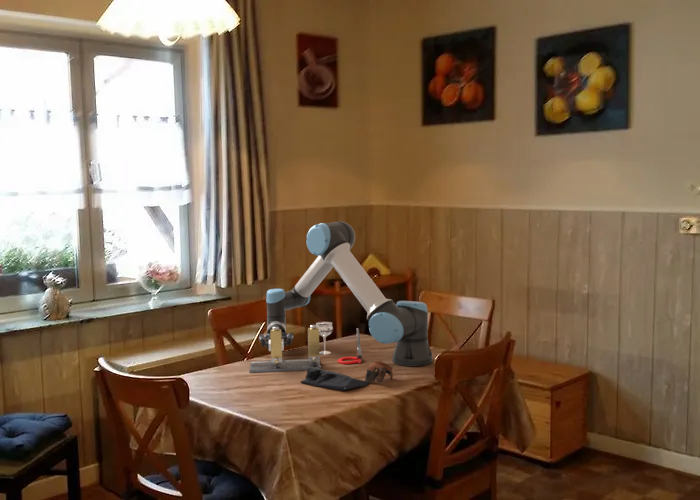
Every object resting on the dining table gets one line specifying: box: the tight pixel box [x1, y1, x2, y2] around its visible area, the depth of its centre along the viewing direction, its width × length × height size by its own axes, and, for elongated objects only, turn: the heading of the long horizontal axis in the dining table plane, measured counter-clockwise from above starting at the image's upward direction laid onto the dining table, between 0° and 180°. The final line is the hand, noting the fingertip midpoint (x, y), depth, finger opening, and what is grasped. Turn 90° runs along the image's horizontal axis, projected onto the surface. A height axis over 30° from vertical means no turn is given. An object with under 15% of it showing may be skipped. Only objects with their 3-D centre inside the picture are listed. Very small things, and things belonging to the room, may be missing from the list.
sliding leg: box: [270, 326, 283, 365], centre depth 281 cm, size 4×7×13 cm, turn 5°
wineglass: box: [315, 321, 334, 355], centre depth 302 cm, size 7×7×12 cm
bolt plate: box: [249, 324, 321, 373], centre depth 283 cm, size 26×12×15 cm, turn 95°
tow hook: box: [337, 328, 363, 365], centre depth 288 cm, size 8×13×9 cm
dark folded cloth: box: [300, 368, 370, 392], centre depth 261 cm, size 15×22×5 cm
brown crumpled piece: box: [363, 359, 394, 385], centre depth 262 cm, size 12×10×8 cm
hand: (276, 347), depth 277 cm, fingers closed on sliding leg, 4 cm apart
